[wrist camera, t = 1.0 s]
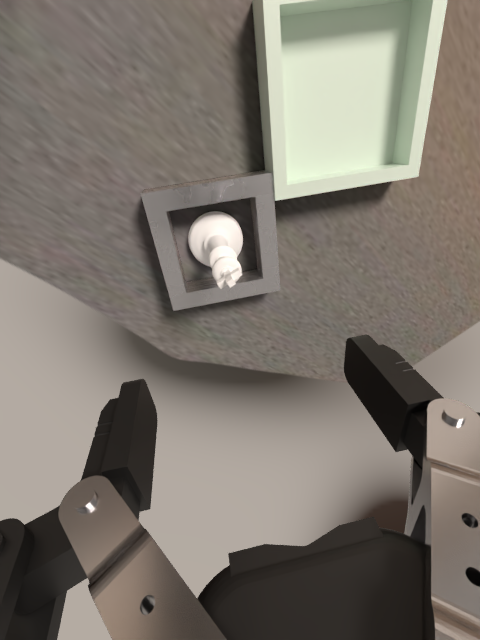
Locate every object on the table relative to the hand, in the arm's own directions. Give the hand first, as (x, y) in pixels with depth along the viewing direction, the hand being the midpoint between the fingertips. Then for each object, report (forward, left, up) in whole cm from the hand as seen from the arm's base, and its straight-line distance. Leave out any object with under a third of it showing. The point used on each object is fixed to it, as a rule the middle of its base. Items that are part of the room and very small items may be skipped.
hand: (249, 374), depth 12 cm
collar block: (0, +1, -18) cm, 18 cm away
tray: (-9, +12, -18) cm, 23 cm away
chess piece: (0, +1, -18) cm, 18 cm away
